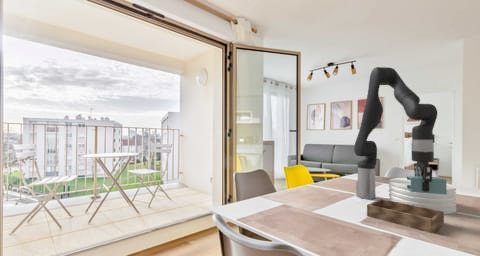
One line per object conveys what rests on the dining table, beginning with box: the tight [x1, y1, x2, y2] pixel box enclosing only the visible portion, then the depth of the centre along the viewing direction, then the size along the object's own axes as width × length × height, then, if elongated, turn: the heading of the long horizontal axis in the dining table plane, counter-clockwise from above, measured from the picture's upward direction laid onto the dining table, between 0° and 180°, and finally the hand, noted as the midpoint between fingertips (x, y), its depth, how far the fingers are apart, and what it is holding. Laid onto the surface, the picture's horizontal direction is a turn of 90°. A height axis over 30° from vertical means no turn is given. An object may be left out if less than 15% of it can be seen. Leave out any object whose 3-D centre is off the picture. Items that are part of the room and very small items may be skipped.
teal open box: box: [406, 174, 447, 195], centre depth 100 cm, size 6×6×12 cm
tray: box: [366, 198, 445, 234], centre depth 103 cm, size 24×16×5 cm, turn 39°
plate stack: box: [388, 177, 457, 215], centre depth 125 cm, size 28×28×12 cm
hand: (422, 189), depth 101 cm, fingers closed on teal open box, 6 cm apart
